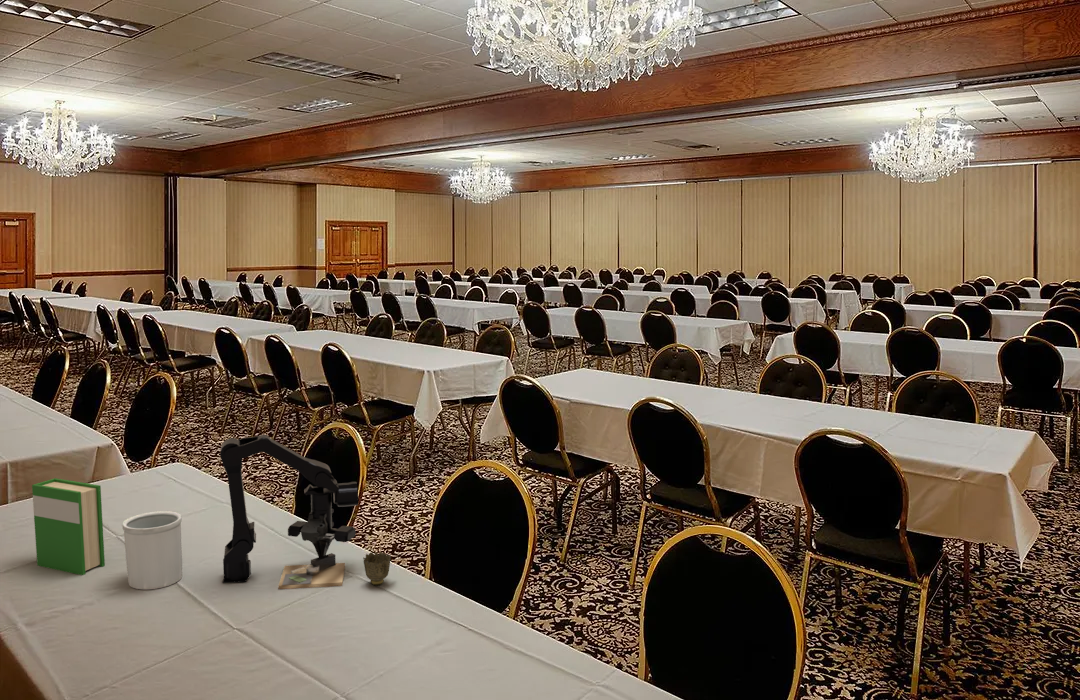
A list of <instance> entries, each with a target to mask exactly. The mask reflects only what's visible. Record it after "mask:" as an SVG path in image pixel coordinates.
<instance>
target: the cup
mask: <svg viewBox="0 0 1080 700" xmlns="http://www.w3.org/2000/svg"><path fill="white" fill-rule="evenodd" d="M362 559H363V565H364V572H365V575H366V577H367V578H368V579H369V580H370V584H371V585H372V586H375V587H379V586H382V585H383V584H384V582H385V579H386V578H387V577H388V574H389V572H390V566H391V560H392V559H391V554H389V553H387V554H386V553H385V552H382V551H380V552H379V553H378V552H377V551H376V552H375V553H374V552H370V553H366V554H365V557H364V556H363V558H362Z"/></svg>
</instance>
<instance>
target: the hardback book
mask: <svg viewBox="0 0 1080 700" xmlns="http://www.w3.org/2000/svg"><path fill="white" fill-rule="evenodd" d="M31 489H32V491H31V492H32V503H33V504H32V505H33V507H32V509H33V521H34V523H33V524H34V536H35V538H34V539H35V552H36V563H37V564H36V566H37V567H43V568H47V569H52V570H56V571H60V572H66V573H69V574H75V575H81V576H84V575H86V573H87V572H86V571H88V570H91V569H93V568H95V567H101V568H103V567H105V566H106V562H105V561H106V560H105V546H104V545H105V544H104V526H103V509H102V508H103V507H102V491H101V490H102V488H101V485H99V484H94V483H93V484H92V483H86V482H82V481H81V482H80V481H74V480H70V479H69V480H68V479H64V478H63V479H62V478H56V477H55V478H51V479H48V480H45V481H40V482H38V483H35V484H32V485H31Z"/></svg>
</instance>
